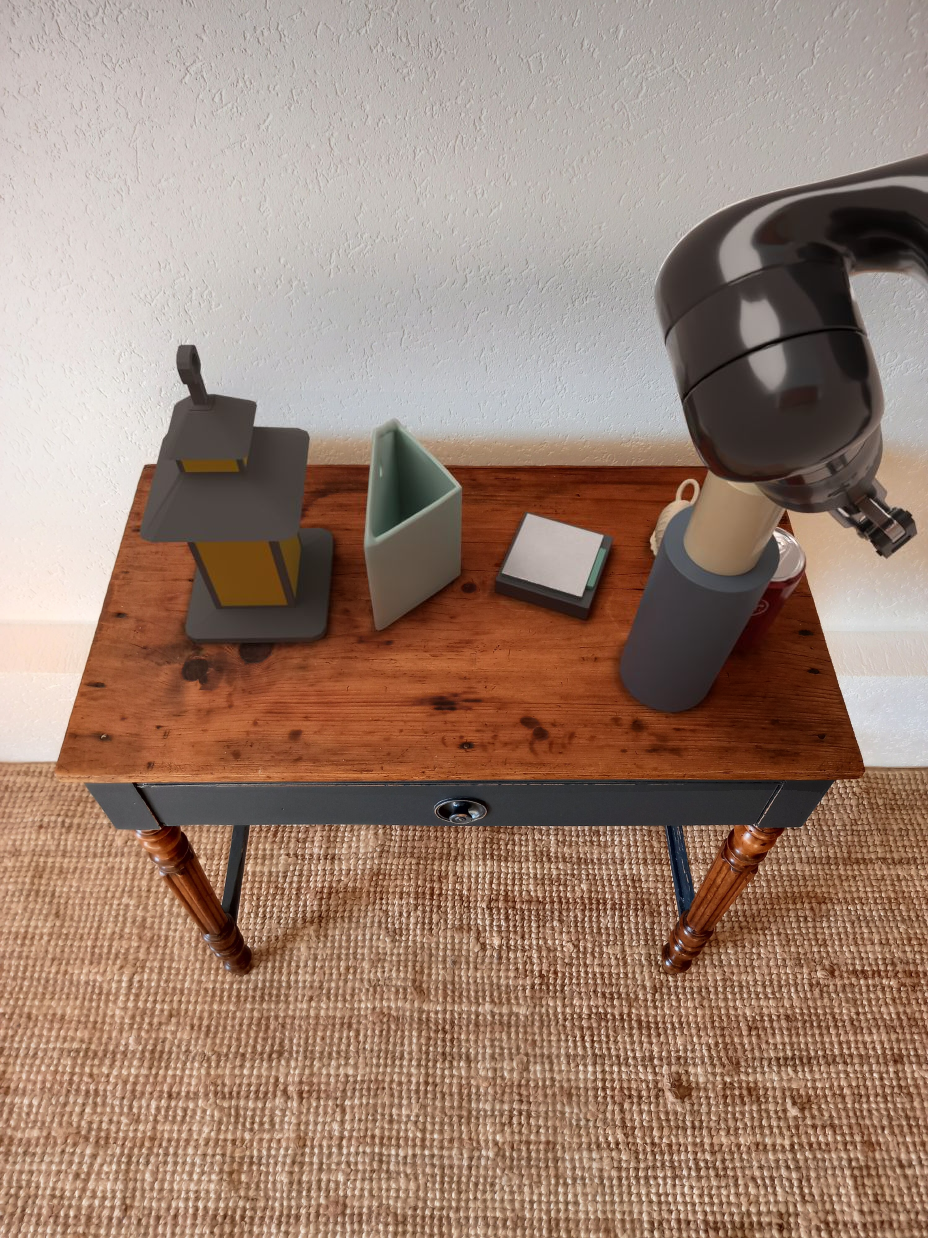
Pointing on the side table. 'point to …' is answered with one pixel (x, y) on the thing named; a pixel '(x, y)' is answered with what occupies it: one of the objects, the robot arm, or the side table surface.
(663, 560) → the stand
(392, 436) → the planter
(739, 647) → the soda can
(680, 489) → the decorative ornament
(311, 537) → the lantern
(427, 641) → the side table surface
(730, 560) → the canister
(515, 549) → the scale
